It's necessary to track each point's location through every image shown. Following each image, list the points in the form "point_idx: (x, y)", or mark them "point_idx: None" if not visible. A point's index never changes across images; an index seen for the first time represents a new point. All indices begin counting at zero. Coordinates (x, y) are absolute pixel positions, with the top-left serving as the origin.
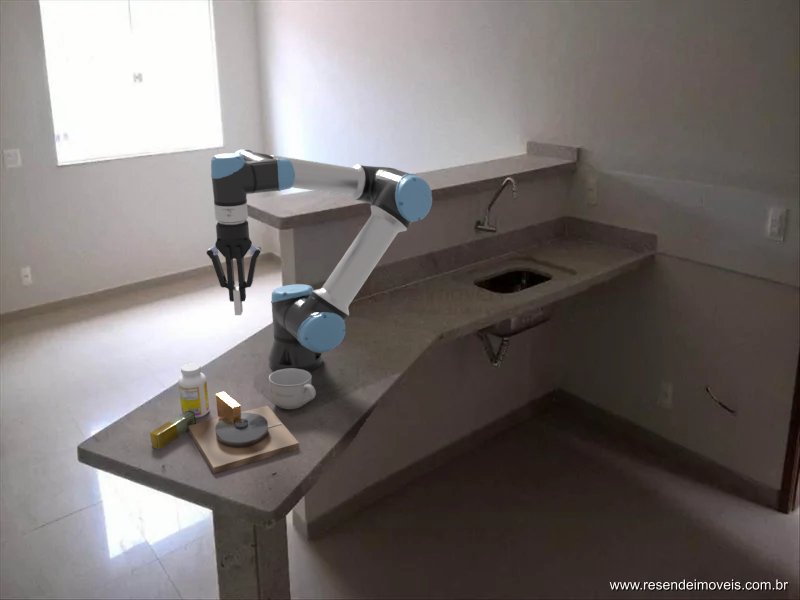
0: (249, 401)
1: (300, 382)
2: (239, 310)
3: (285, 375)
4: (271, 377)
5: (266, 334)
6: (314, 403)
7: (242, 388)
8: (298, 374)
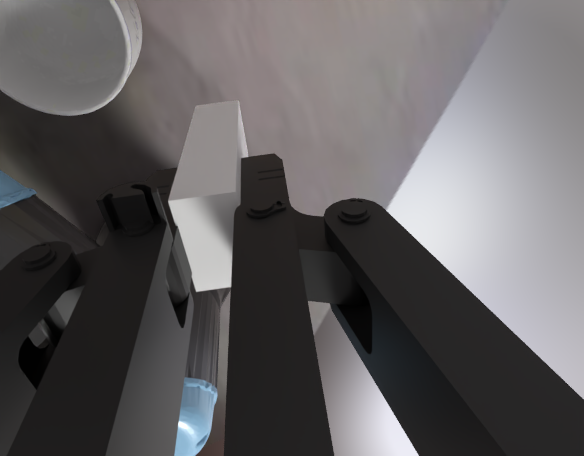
0: (220, 19)
1: (60, 88)
2: (201, 117)
3: (103, 93)
4: (124, 38)
5: None
6: None
7: (267, 101)
8: (57, 100)
